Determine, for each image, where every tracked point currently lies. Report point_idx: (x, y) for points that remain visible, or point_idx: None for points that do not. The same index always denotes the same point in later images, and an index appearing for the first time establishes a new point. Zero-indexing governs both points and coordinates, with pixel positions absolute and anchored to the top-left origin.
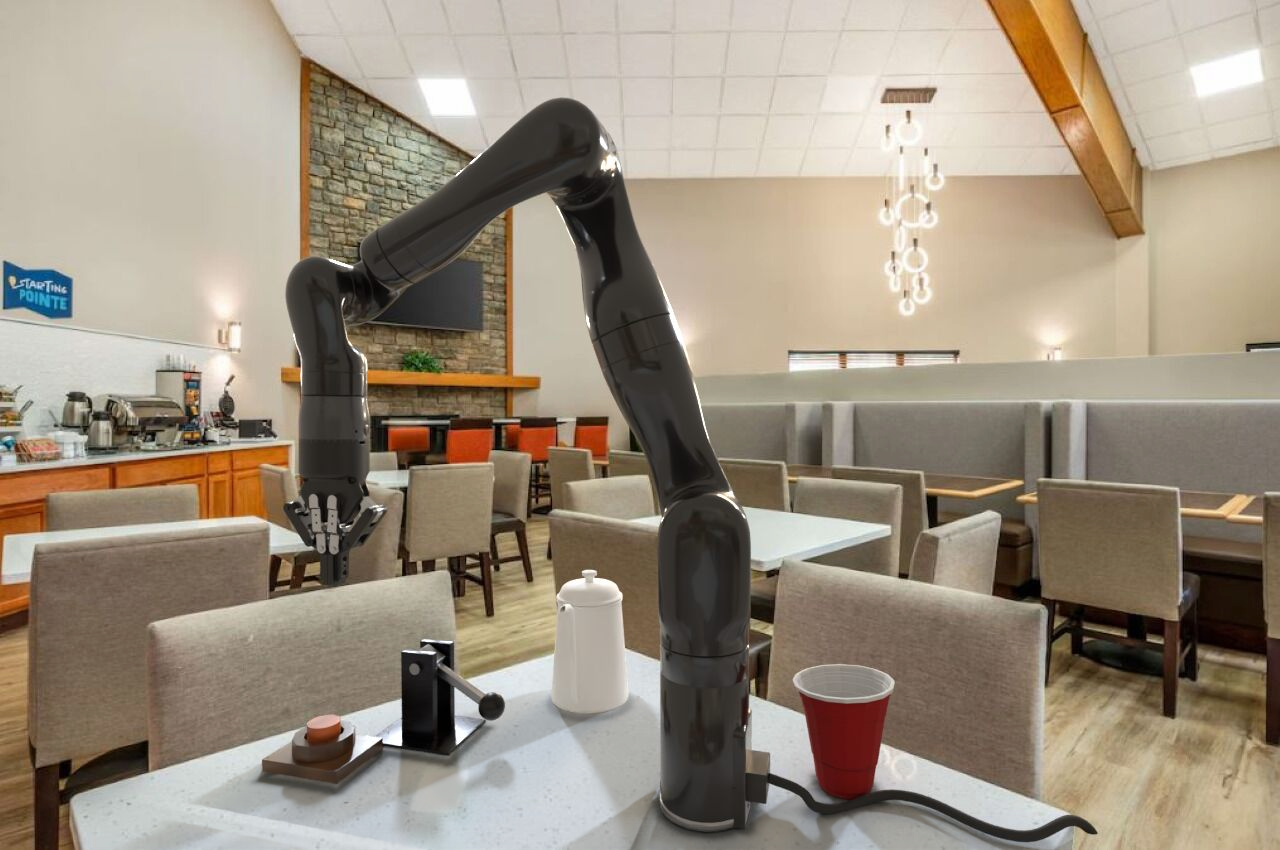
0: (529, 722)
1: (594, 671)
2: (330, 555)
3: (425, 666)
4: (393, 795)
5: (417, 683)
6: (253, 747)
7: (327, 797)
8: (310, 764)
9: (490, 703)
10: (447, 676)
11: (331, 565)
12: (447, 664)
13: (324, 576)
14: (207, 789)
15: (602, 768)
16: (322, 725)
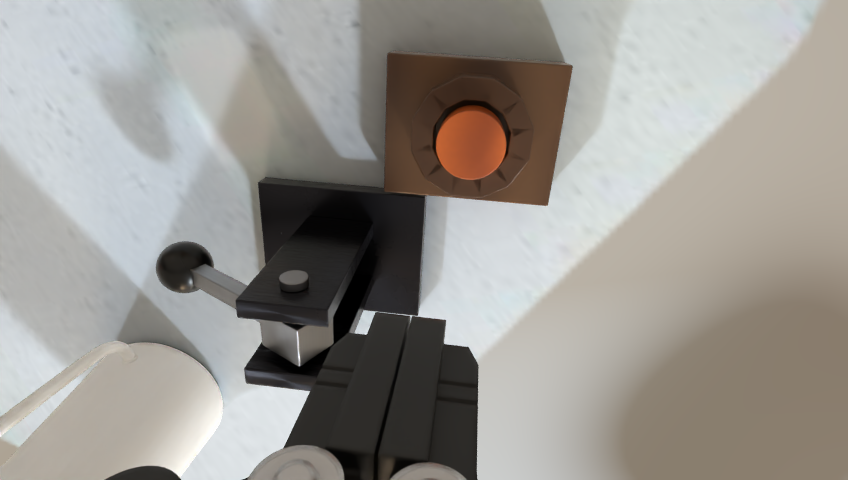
0: (220, 319)
1: (72, 397)
2: (351, 445)
3: (267, 286)
4: (290, 63)
5: (304, 266)
6: (661, 166)
7: (399, 31)
8: (457, 69)
9: (166, 255)
10: None
11: (361, 387)
12: None
13: (429, 343)
14: (654, 3)
15: (34, 205)
16: (461, 128)
